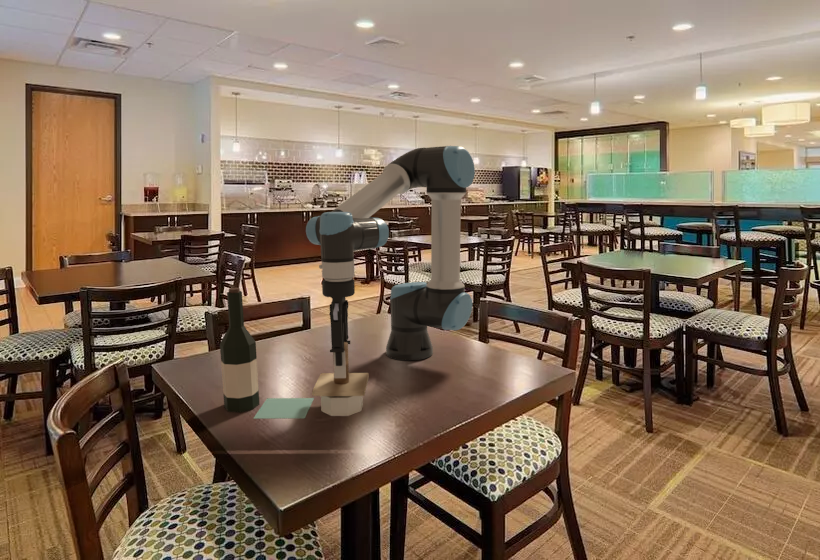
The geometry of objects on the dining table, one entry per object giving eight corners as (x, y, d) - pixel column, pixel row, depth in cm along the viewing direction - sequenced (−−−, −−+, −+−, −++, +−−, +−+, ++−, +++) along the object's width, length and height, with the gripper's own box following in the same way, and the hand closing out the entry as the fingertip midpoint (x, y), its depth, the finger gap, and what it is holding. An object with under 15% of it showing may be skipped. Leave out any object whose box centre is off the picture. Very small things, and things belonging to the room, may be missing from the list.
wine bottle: (244, 398, 138) (237, 284, 133) (266, 405, 134) (259, 287, 128) (217, 409, 131) (208, 289, 126) (239, 417, 127) (230, 293, 122)
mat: (314, 400, 137) (314, 397, 137) (304, 420, 125) (304, 418, 125) (267, 400, 137) (267, 398, 137) (253, 420, 125) (253, 418, 125)
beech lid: (368, 377, 136) (367, 336, 134) (364, 395, 124) (363, 351, 122) (321, 377, 136) (319, 336, 134) (312, 396, 124) (310, 351, 122)
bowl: (363, 401, 136) (363, 382, 135) (360, 418, 126) (359, 397, 125) (325, 402, 136) (325, 383, 135) (319, 418, 126) (318, 398, 125)
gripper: (327, 272, 134) (331, 362, 138) (315, 285, 117) (319, 387, 121) (357, 272, 133) (360, 362, 138) (350, 285, 117) (353, 387, 121)
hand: (341, 374), depth 129 cm, fingers open, 4 cm apart
